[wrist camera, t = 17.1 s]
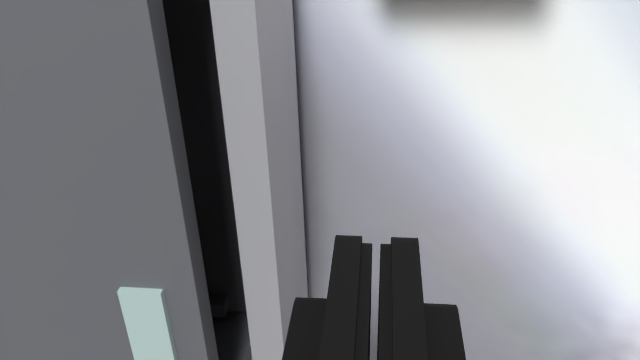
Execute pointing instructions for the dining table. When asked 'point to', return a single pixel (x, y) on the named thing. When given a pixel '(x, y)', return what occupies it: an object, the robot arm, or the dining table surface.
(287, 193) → the tray
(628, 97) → the dining table surface
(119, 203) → the grey drawer box
